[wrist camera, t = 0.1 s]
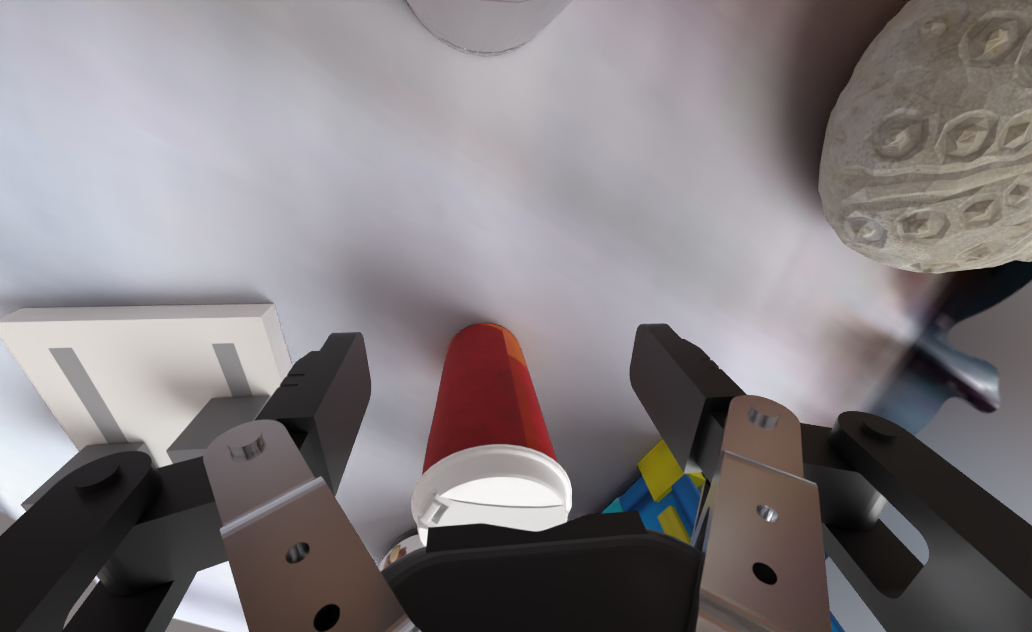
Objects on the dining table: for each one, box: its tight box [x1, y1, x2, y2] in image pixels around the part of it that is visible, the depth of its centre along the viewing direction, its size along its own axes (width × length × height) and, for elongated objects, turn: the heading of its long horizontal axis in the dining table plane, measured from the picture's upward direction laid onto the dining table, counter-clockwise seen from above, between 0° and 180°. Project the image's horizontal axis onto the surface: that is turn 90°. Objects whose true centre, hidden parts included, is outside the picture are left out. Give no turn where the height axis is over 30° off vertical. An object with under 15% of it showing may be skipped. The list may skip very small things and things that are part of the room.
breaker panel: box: [0, 304, 292, 467], centre depth 30 cm, size 16×16×2 cm
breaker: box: [21, 442, 159, 511], centre depth 28 cm, size 3×4×5 cm
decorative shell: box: [818, 0, 1032, 273], centre depth 22 cm, size 18×18×10 cm
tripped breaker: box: [166, 396, 270, 464], centre depth 28 cm, size 3×4×5 cm
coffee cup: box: [411, 323, 572, 547], centre depth 26 cm, size 8×8×15 cm
